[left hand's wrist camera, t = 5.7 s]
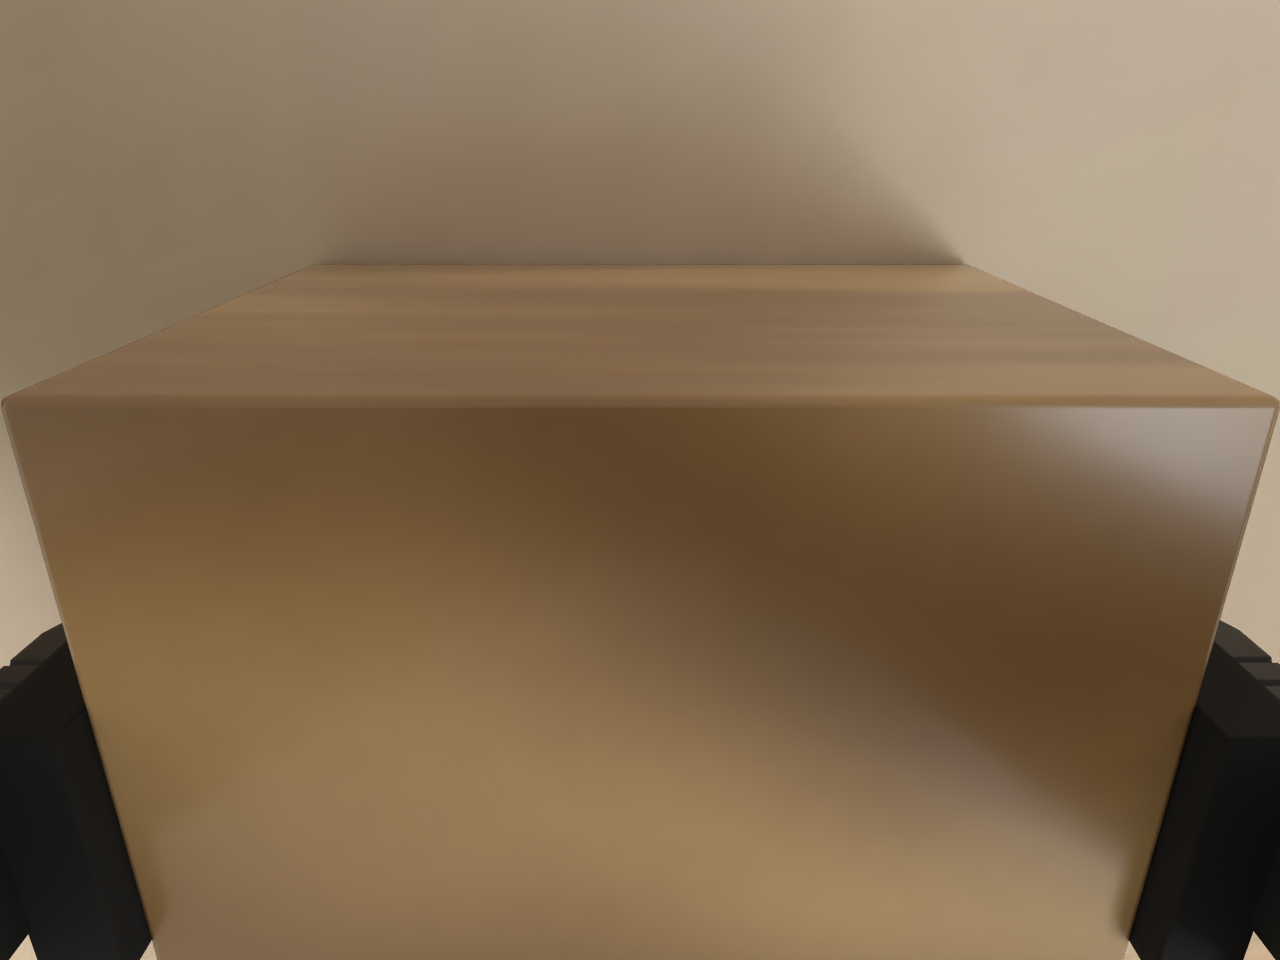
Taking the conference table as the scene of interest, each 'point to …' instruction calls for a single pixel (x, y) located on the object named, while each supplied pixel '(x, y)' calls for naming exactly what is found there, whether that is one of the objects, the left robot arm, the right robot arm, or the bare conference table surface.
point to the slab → (640, 610)
